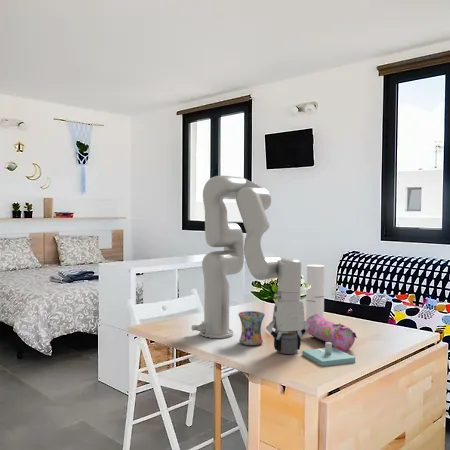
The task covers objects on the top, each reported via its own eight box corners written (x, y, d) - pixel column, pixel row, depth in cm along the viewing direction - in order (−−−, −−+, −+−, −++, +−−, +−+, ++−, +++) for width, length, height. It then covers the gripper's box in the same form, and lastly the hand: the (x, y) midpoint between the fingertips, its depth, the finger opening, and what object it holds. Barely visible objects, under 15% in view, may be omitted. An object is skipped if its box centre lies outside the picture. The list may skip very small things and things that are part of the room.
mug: (265, 347, 165) (266, 316, 165) (238, 347, 165) (239, 316, 165) (262, 338, 177) (262, 309, 177) (237, 337, 177) (237, 309, 177)
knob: (283, 354, 156) (283, 335, 156) (274, 349, 162) (274, 330, 162) (300, 353, 158) (301, 333, 158) (290, 347, 164) (291, 329, 164)
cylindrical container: (325, 328, 193) (326, 266, 192) (307, 328, 193) (308, 266, 193) (321, 324, 200) (323, 264, 200) (304, 323, 201) (305, 264, 200)
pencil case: (357, 351, 163) (357, 324, 162) (333, 353, 160) (334, 326, 160) (325, 335, 183) (325, 311, 183) (303, 336, 180) (304, 313, 180)
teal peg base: (322, 366, 146) (322, 350, 146) (302, 354, 157) (302, 339, 157) (355, 362, 150) (355, 346, 150) (333, 351, 161) (333, 336, 161)
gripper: (270, 299, 153) (268, 355, 153) (317, 297, 159) (315, 350, 160) (260, 295, 160) (258, 348, 160) (305, 293, 166) (304, 344, 167)
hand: (287, 349), depth 160 cm, fingers closed on knob, 6 cm apart
